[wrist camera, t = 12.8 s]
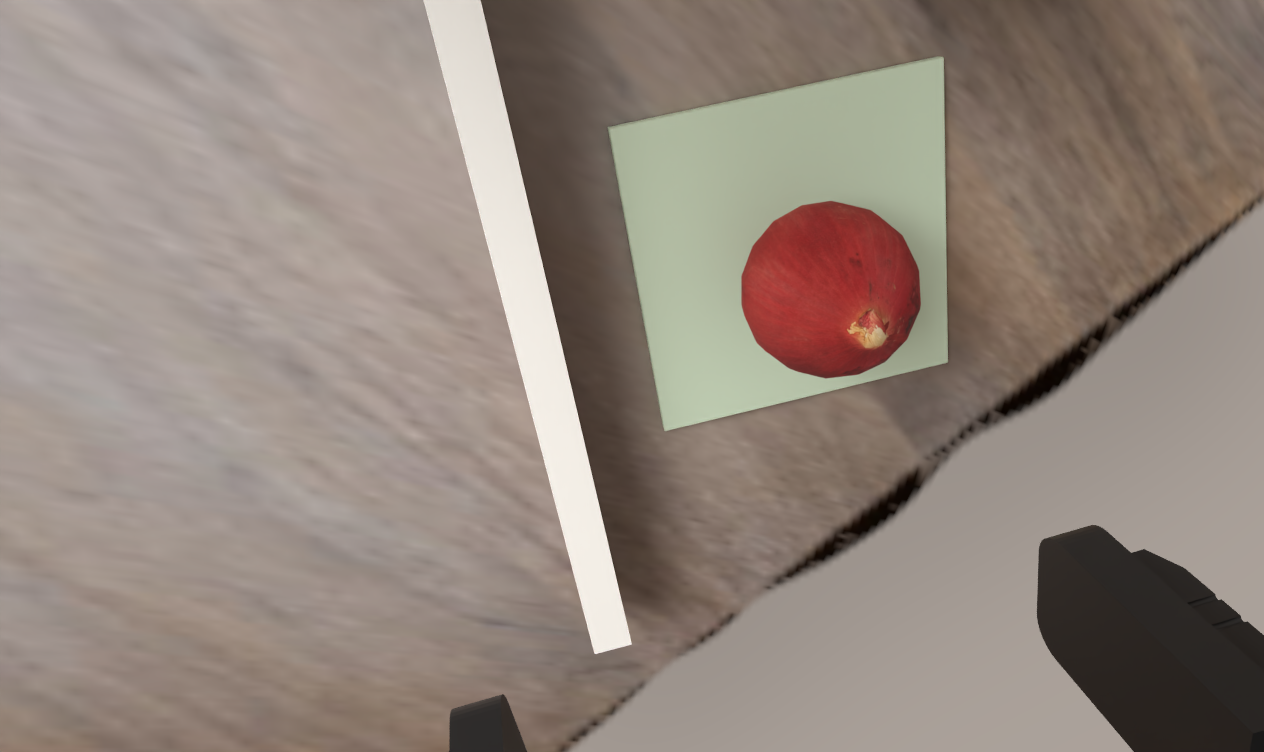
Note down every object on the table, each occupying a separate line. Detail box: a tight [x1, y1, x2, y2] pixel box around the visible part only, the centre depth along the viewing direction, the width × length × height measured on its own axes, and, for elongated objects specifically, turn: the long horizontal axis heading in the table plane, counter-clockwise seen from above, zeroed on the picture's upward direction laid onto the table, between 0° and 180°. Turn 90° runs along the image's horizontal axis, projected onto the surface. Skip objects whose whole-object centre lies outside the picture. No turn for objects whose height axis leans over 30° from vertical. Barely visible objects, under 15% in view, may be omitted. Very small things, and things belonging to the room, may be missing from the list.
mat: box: [608, 56, 948, 431], centre depth 32 cm, size 12×12×1 cm
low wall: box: [424, 0, 632, 654], centre depth 30 cm, size 26×2×4 cm, turn 10°
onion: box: [741, 201, 921, 379], centre depth 29 cm, size 6×6×8 cm
